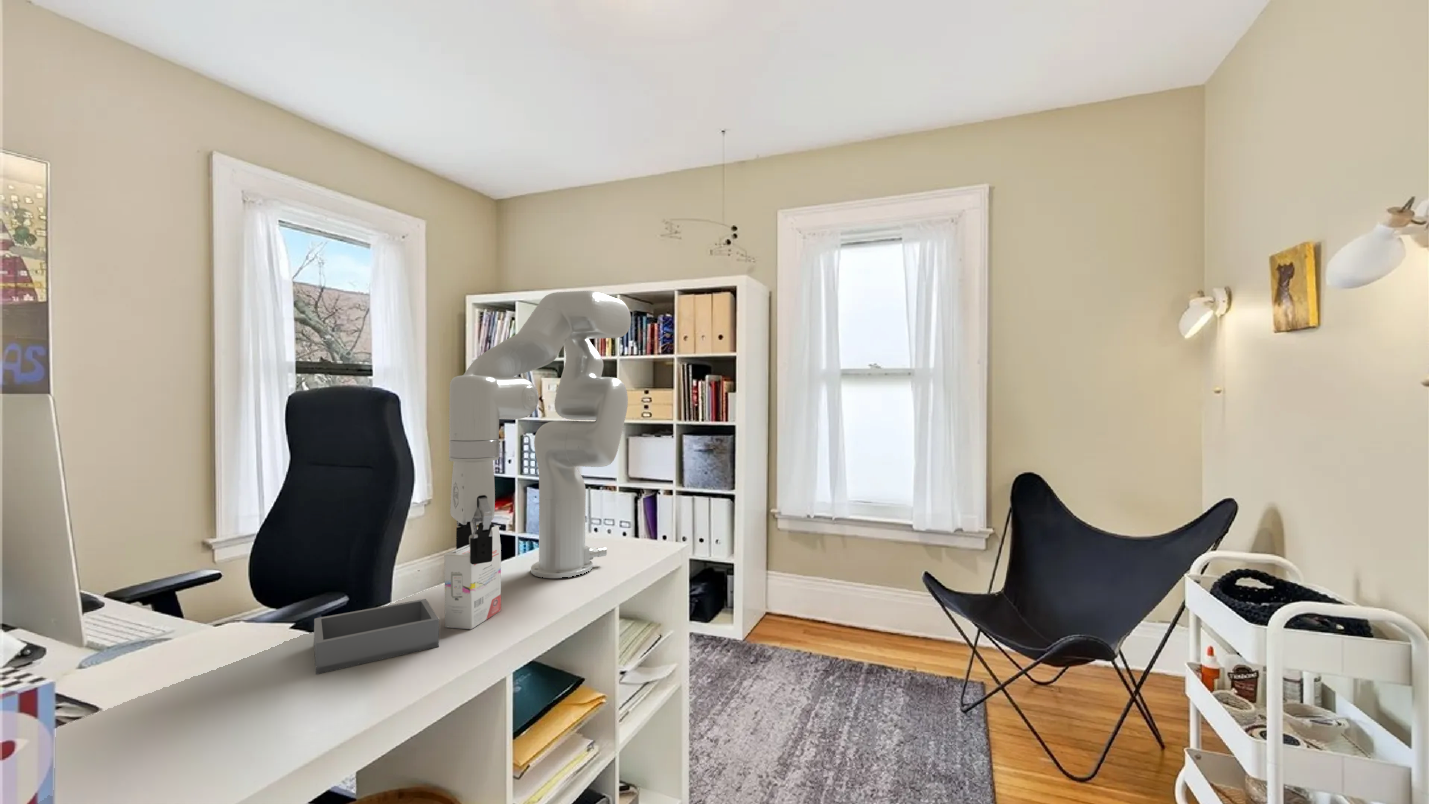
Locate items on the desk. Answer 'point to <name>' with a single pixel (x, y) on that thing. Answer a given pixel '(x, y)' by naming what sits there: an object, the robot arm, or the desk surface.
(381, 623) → the box
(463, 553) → the ink cartridge box
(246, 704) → the desk surface
